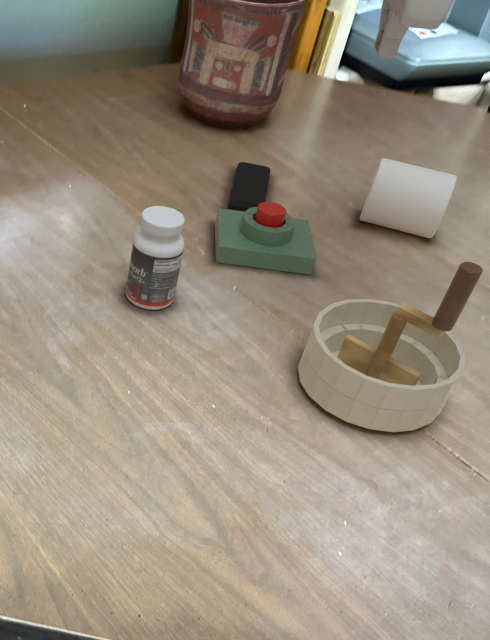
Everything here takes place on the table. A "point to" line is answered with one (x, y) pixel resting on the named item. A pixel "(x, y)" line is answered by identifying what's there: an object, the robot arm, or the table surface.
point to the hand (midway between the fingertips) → (383, 54)
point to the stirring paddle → (380, 359)
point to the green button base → (263, 242)
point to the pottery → (237, 58)
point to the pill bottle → (156, 258)
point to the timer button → (270, 214)
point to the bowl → (370, 393)
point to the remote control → (249, 186)
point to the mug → (408, 198)
